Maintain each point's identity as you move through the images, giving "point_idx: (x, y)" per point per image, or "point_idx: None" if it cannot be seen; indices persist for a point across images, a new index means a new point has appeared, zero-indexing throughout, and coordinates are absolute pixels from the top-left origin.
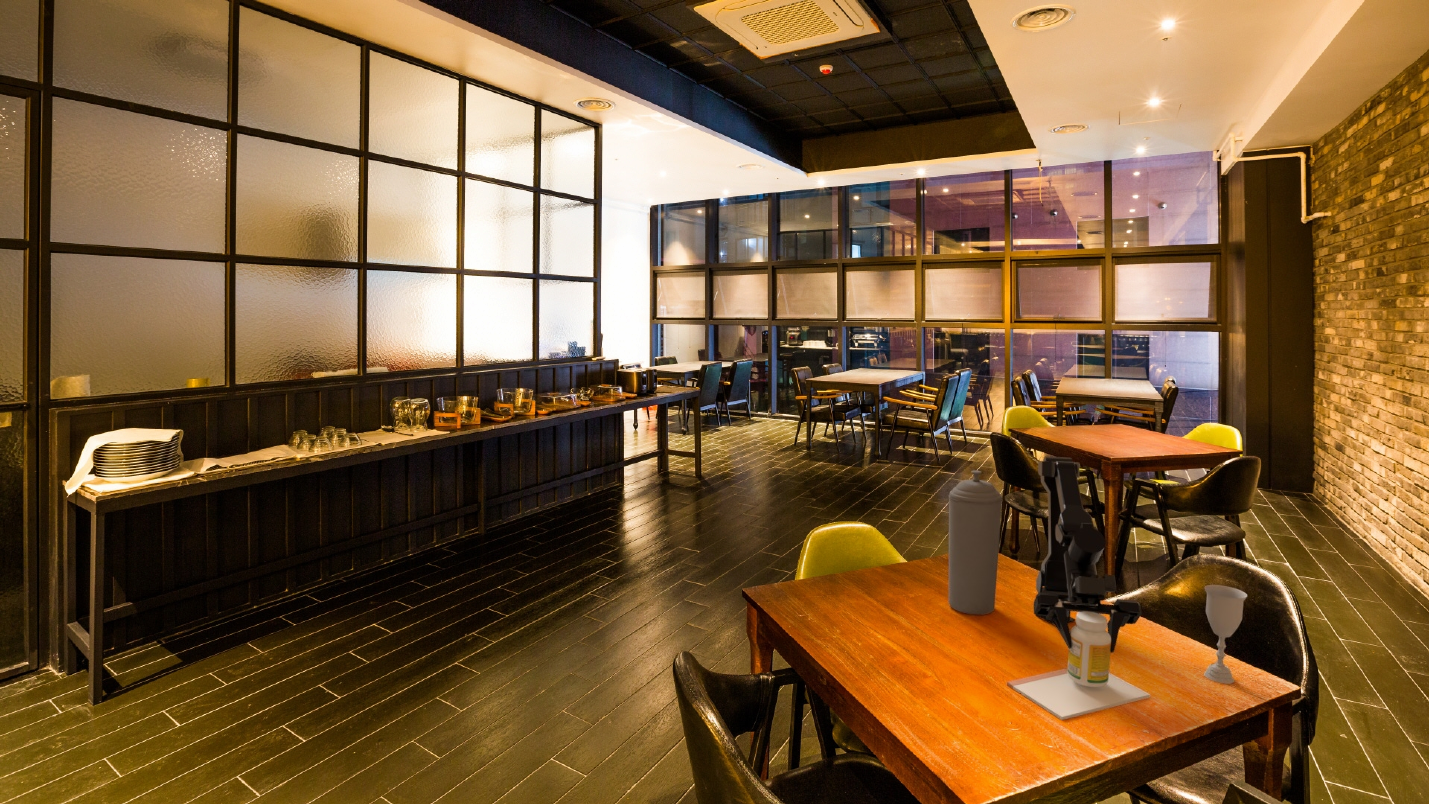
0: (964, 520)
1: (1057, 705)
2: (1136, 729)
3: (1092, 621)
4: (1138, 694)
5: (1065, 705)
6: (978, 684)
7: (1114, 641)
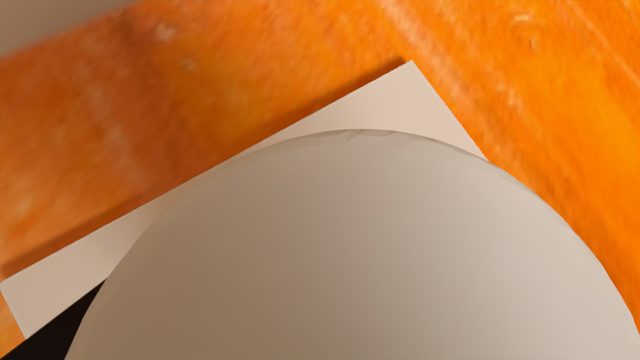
0: None
1: (415, 124)
2: (193, 38)
3: (426, 166)
4: (62, 268)
5: (391, 126)
6: (630, 245)
7: (77, 314)
